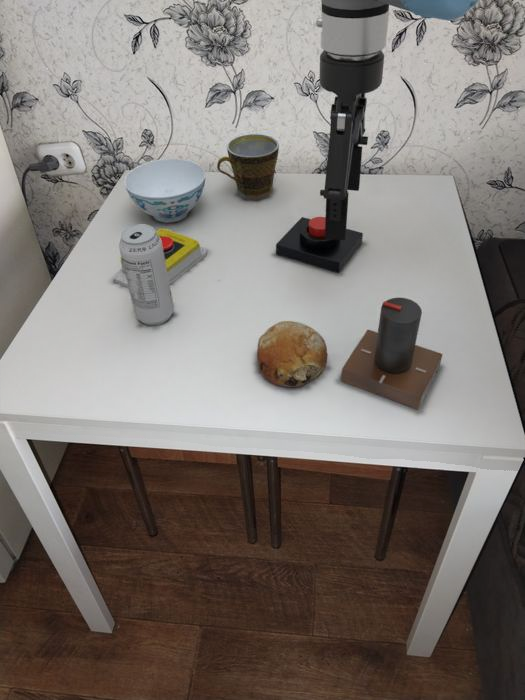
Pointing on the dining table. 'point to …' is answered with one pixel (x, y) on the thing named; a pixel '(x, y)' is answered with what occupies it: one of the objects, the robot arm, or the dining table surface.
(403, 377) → the dial panel
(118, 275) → the emergency button
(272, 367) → the bread roll
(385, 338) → the dial
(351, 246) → the button box
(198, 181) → the chinaware
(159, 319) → the energy drink can
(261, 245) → the dining table surface
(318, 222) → the button
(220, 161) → the ceramic cup
